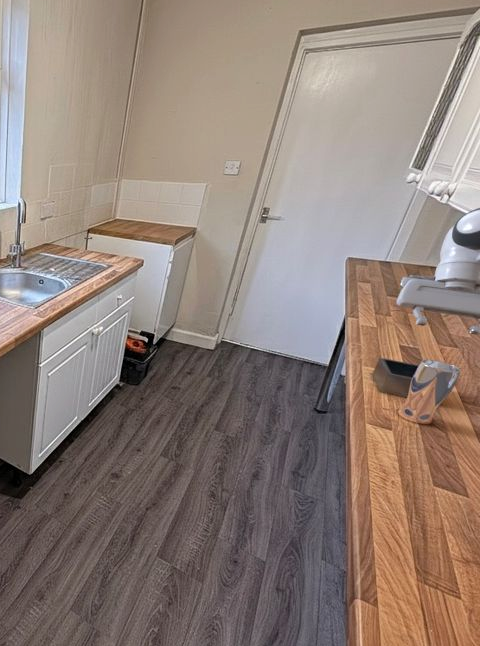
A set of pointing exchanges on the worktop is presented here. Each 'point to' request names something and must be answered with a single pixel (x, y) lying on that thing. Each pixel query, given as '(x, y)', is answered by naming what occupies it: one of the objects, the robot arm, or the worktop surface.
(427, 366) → the metal tumbler
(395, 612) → the worktop surface
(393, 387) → the dark gray square tray
